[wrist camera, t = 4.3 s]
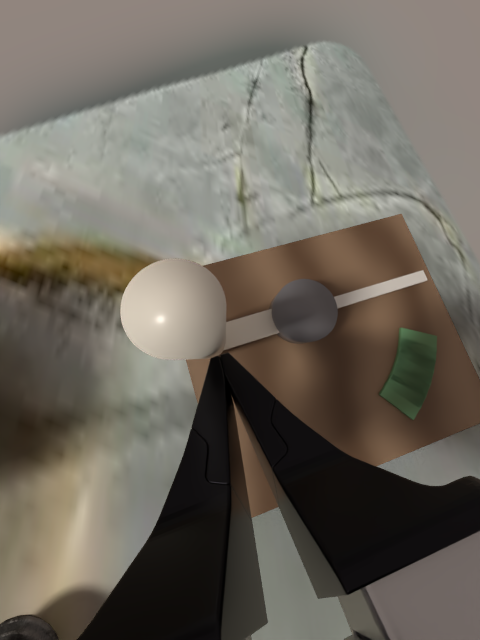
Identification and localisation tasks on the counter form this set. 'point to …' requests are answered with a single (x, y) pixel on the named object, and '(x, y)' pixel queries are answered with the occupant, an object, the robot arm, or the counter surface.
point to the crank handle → (210, 311)
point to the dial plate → (352, 349)
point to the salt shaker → (26, 629)
